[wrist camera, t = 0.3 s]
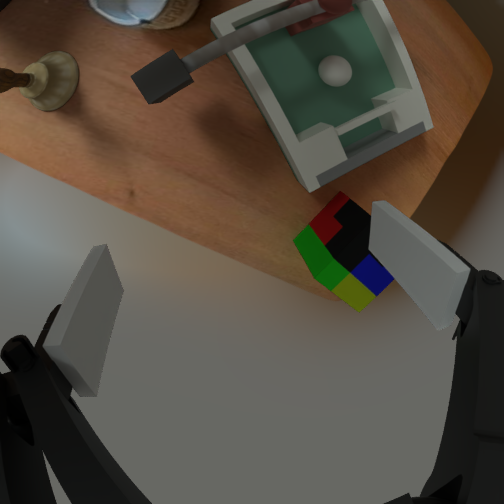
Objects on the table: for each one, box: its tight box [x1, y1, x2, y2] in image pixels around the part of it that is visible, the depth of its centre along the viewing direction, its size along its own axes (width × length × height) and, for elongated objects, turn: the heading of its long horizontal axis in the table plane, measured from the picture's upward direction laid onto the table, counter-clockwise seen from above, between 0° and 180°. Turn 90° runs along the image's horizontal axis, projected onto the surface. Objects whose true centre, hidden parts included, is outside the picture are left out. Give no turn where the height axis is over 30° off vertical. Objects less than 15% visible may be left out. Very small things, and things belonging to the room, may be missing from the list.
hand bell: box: [0, 51, 79, 111], centre depth 21 cm, size 8×8×16 cm
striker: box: [131, 0, 367, 104], centre depth 23 cm, size 3×30×11 cm, turn 119°
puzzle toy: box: [293, 191, 395, 312], centre depth 41 cm, size 10×10×10 cm
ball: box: [318, 55, 352, 87], centre depth 30 cm, size 4×4×4 cm
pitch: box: [210, 0, 433, 193], centre depth 30 cm, size 23×20×7 cm
